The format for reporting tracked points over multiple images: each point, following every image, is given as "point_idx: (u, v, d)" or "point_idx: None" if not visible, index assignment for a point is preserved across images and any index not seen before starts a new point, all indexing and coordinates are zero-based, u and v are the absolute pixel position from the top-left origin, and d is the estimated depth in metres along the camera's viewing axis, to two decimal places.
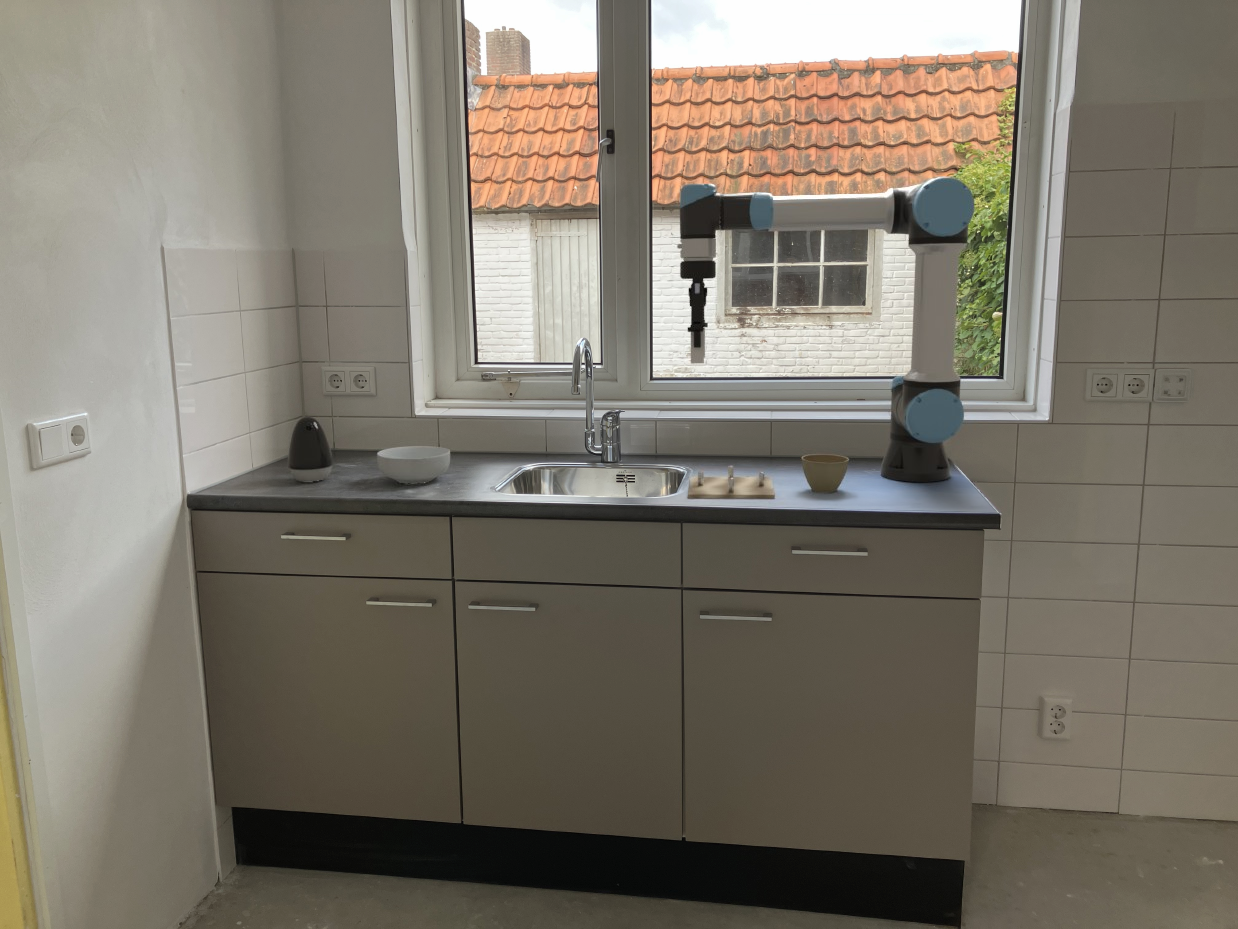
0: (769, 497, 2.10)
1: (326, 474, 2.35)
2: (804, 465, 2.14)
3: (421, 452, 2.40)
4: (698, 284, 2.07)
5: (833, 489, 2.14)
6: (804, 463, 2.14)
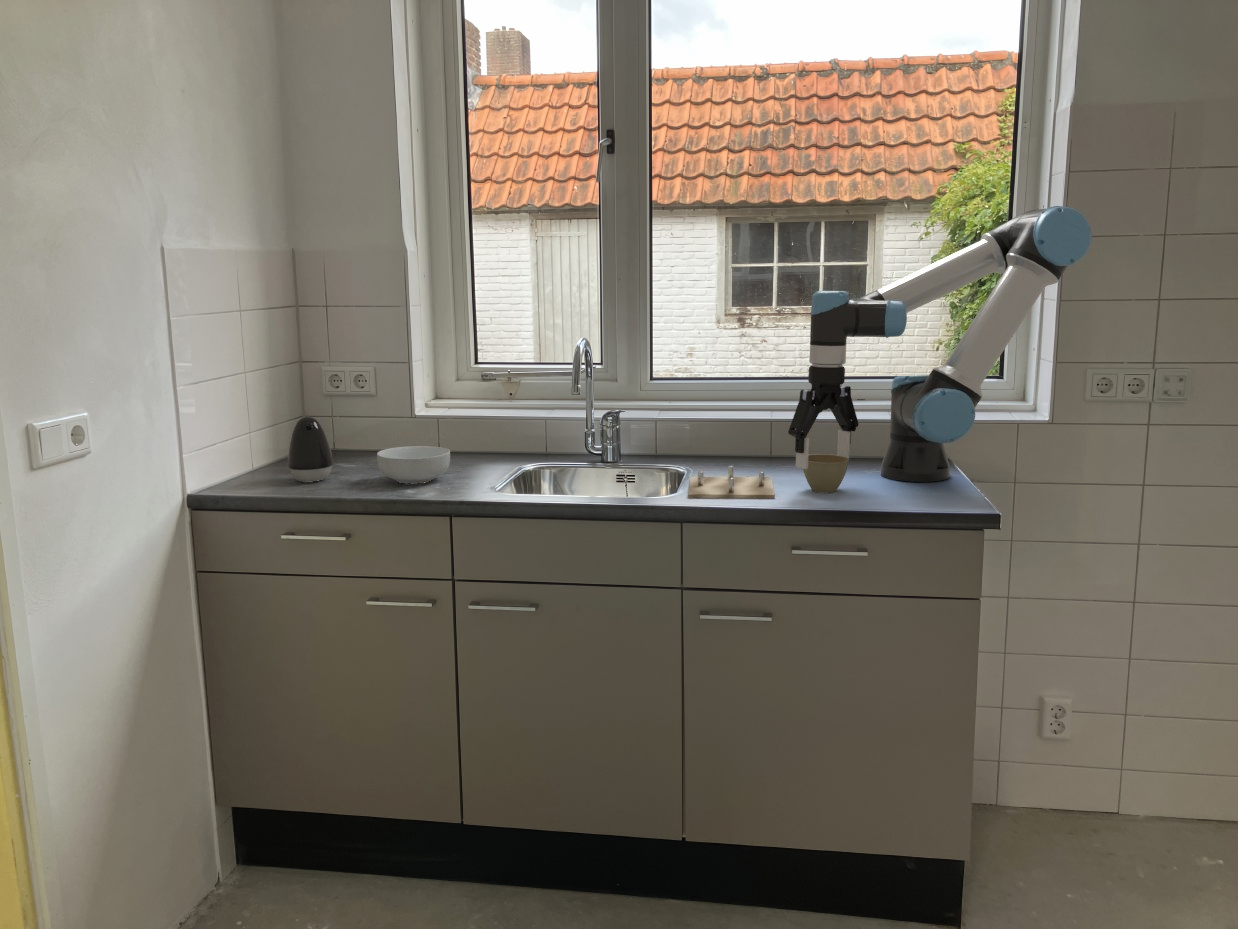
0: (769, 497, 2.10)
1: (326, 474, 2.35)
2: None
3: (421, 452, 2.40)
4: (806, 391, 2.08)
5: (833, 489, 2.14)
6: None
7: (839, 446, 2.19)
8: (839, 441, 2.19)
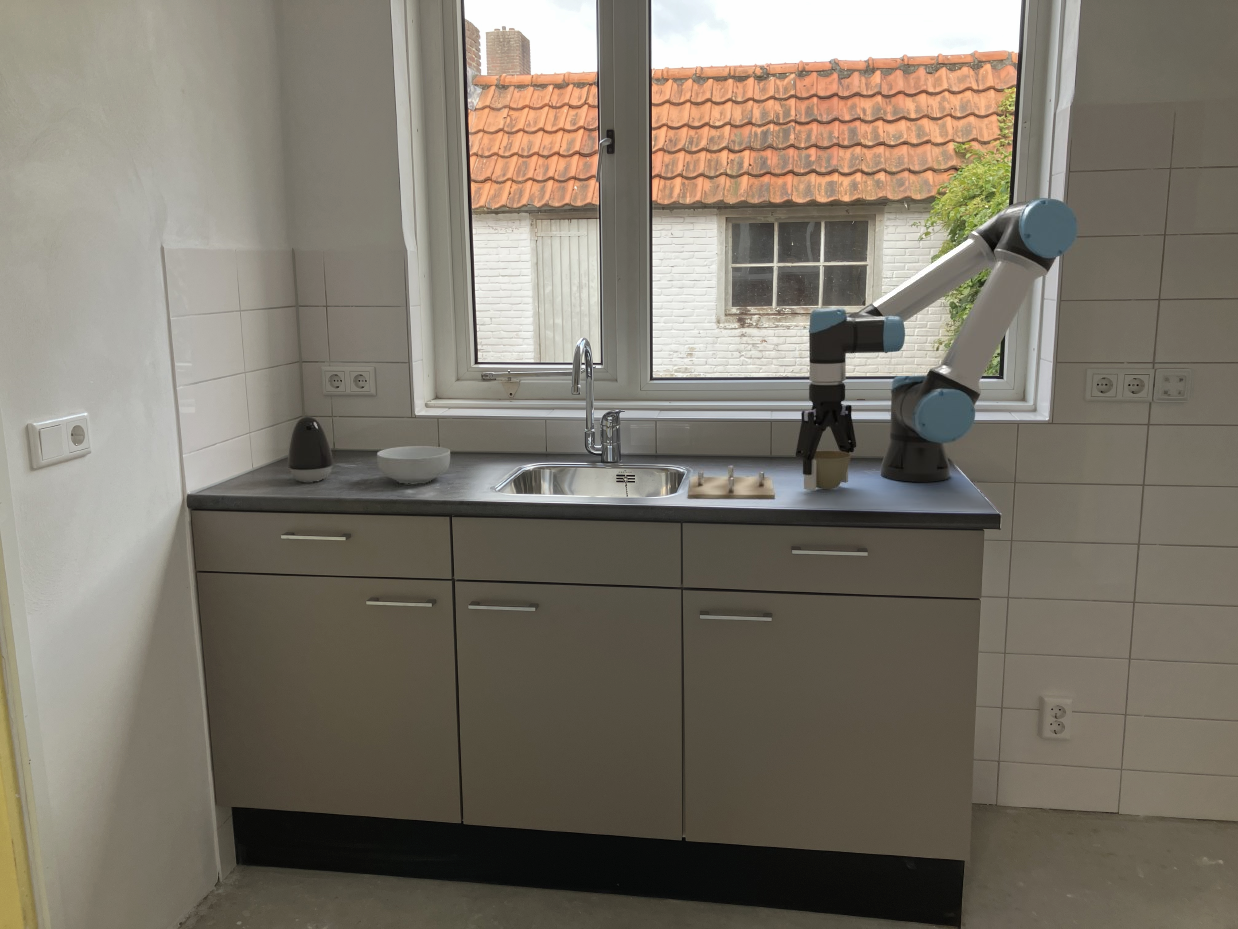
0: (769, 497, 2.10)
1: (326, 474, 2.35)
2: None
3: (421, 452, 2.40)
4: (807, 412, 2.09)
5: (835, 485, 2.14)
6: None
7: None
8: None
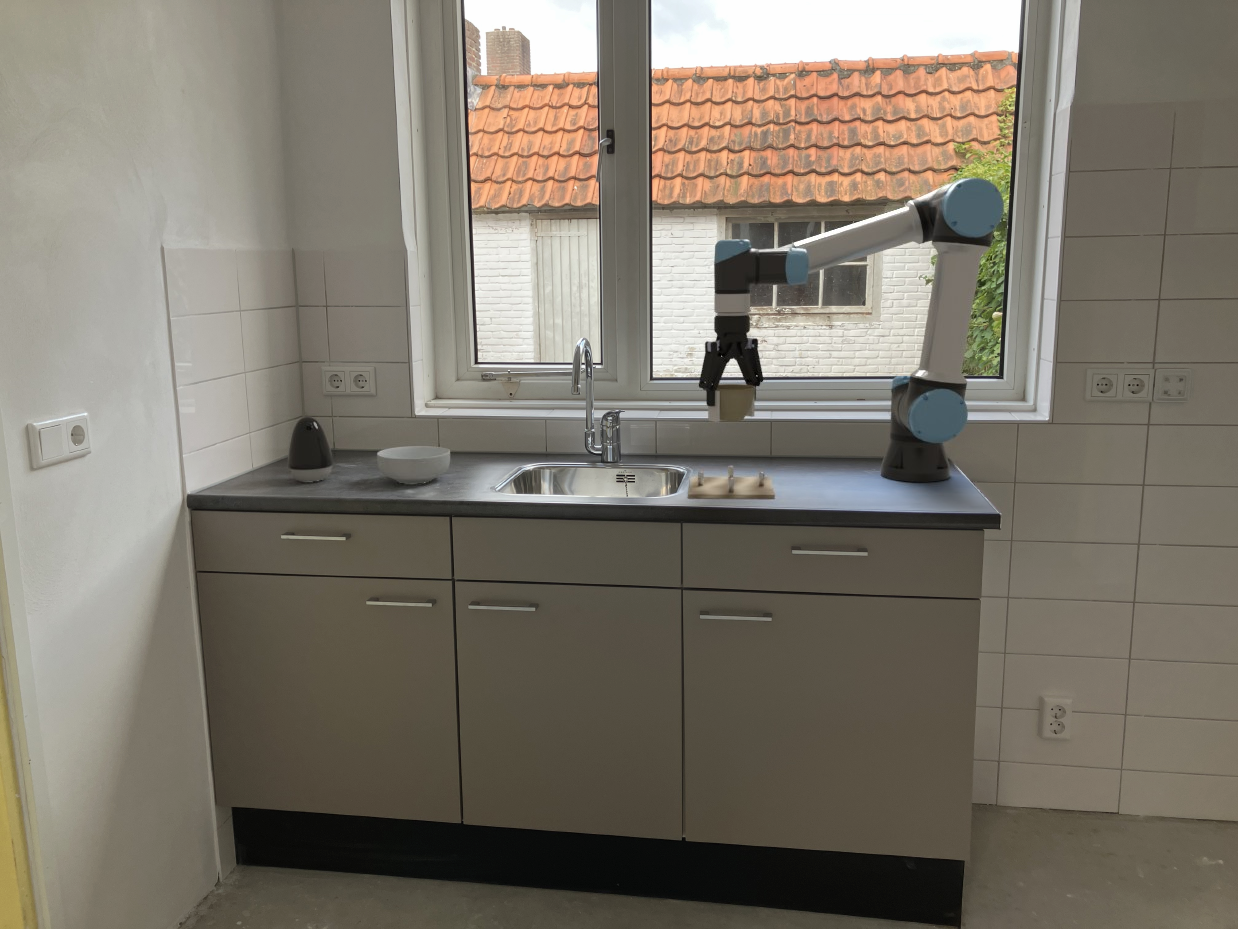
0: (769, 497, 2.10)
1: (326, 474, 2.35)
2: None
3: (421, 452, 2.40)
4: (710, 343, 2.09)
5: (739, 417, 2.14)
6: None
7: None
8: None
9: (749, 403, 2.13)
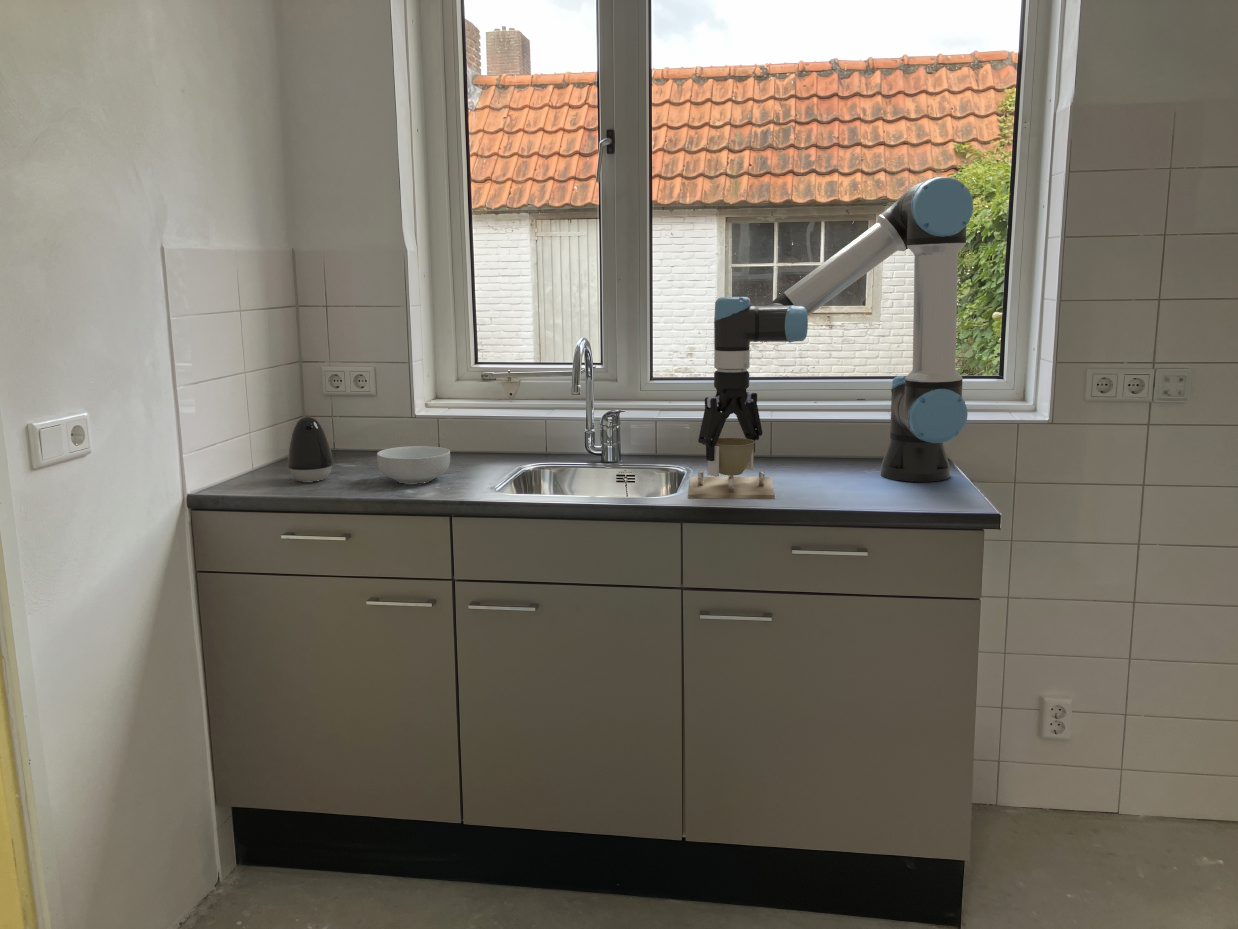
0: (769, 497, 2.10)
1: (326, 474, 2.35)
2: None
3: (421, 452, 2.40)
4: (709, 399, 2.11)
5: (738, 471, 2.16)
6: None
7: None
8: None
9: (748, 458, 2.16)
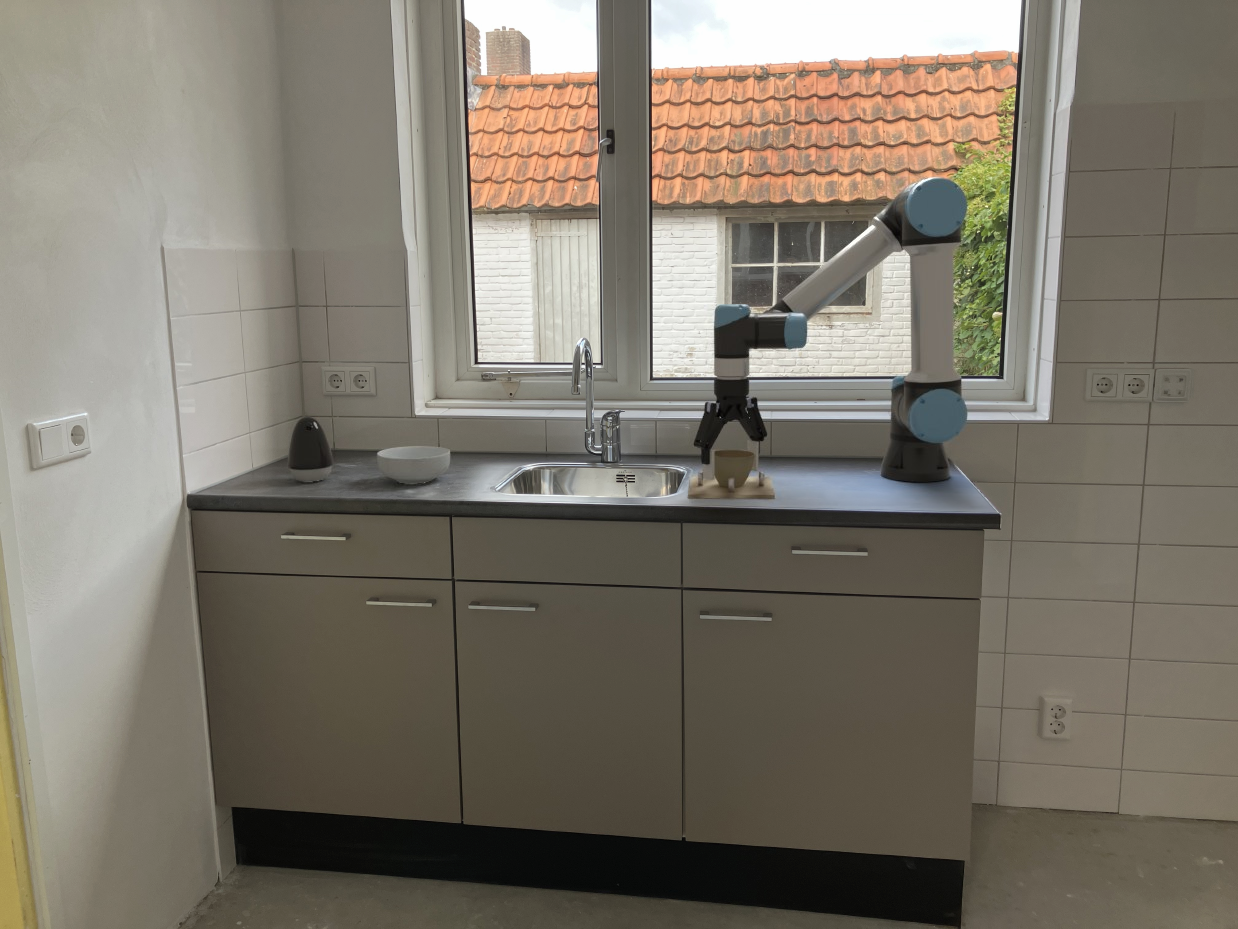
0: (769, 497, 2.10)
1: (326, 474, 2.35)
2: None
3: (421, 452, 2.40)
4: (710, 403, 2.12)
5: (739, 484, 2.17)
6: None
7: None
8: None
9: (749, 470, 2.16)
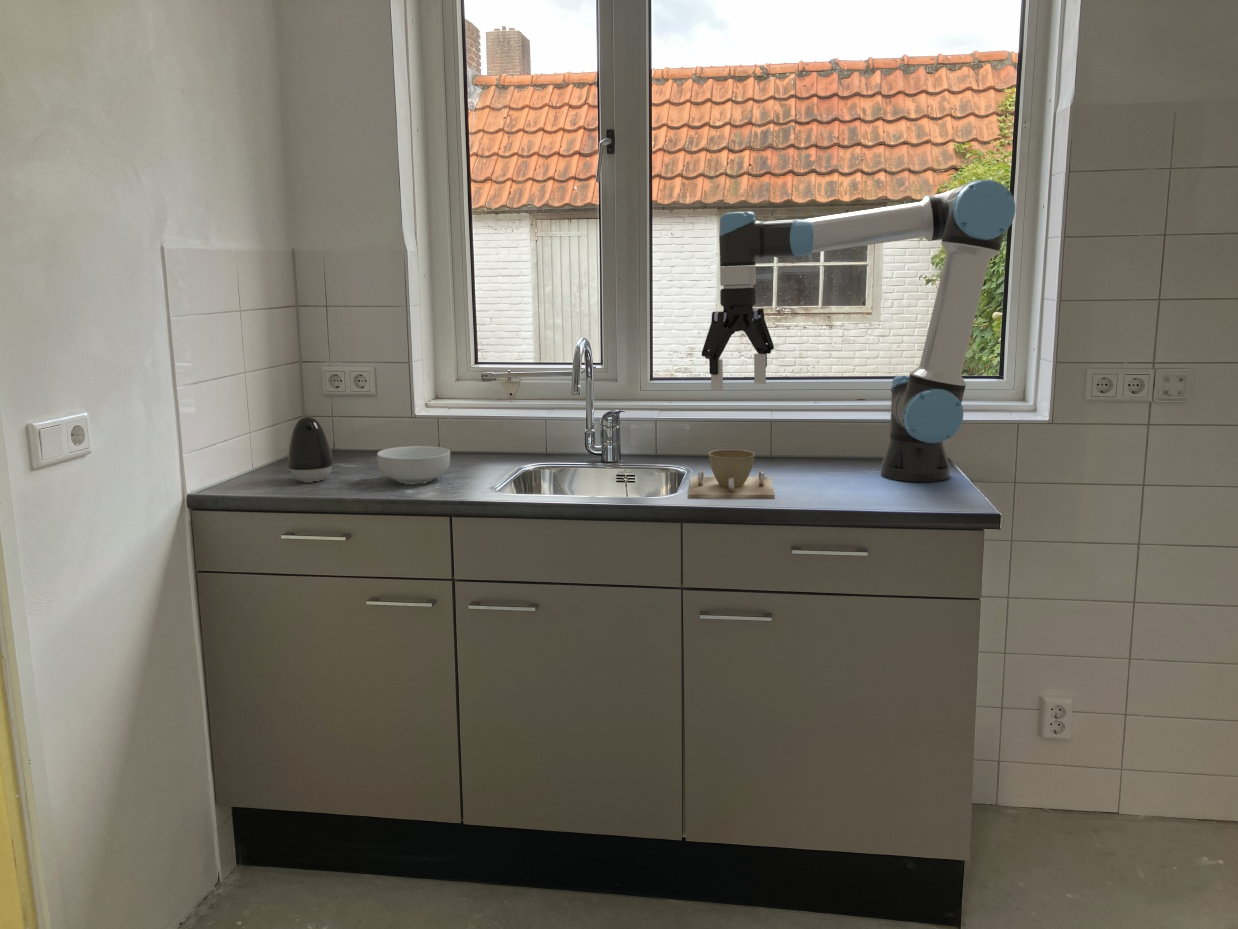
0: (769, 497, 2.10)
1: (326, 474, 2.35)
2: (710, 460, 2.17)
3: (421, 452, 2.40)
4: (717, 312, 2.10)
5: (739, 484, 2.17)
6: (710, 458, 2.17)
7: (756, 369, 2.21)
8: (755, 364, 2.21)
9: (749, 470, 2.16)
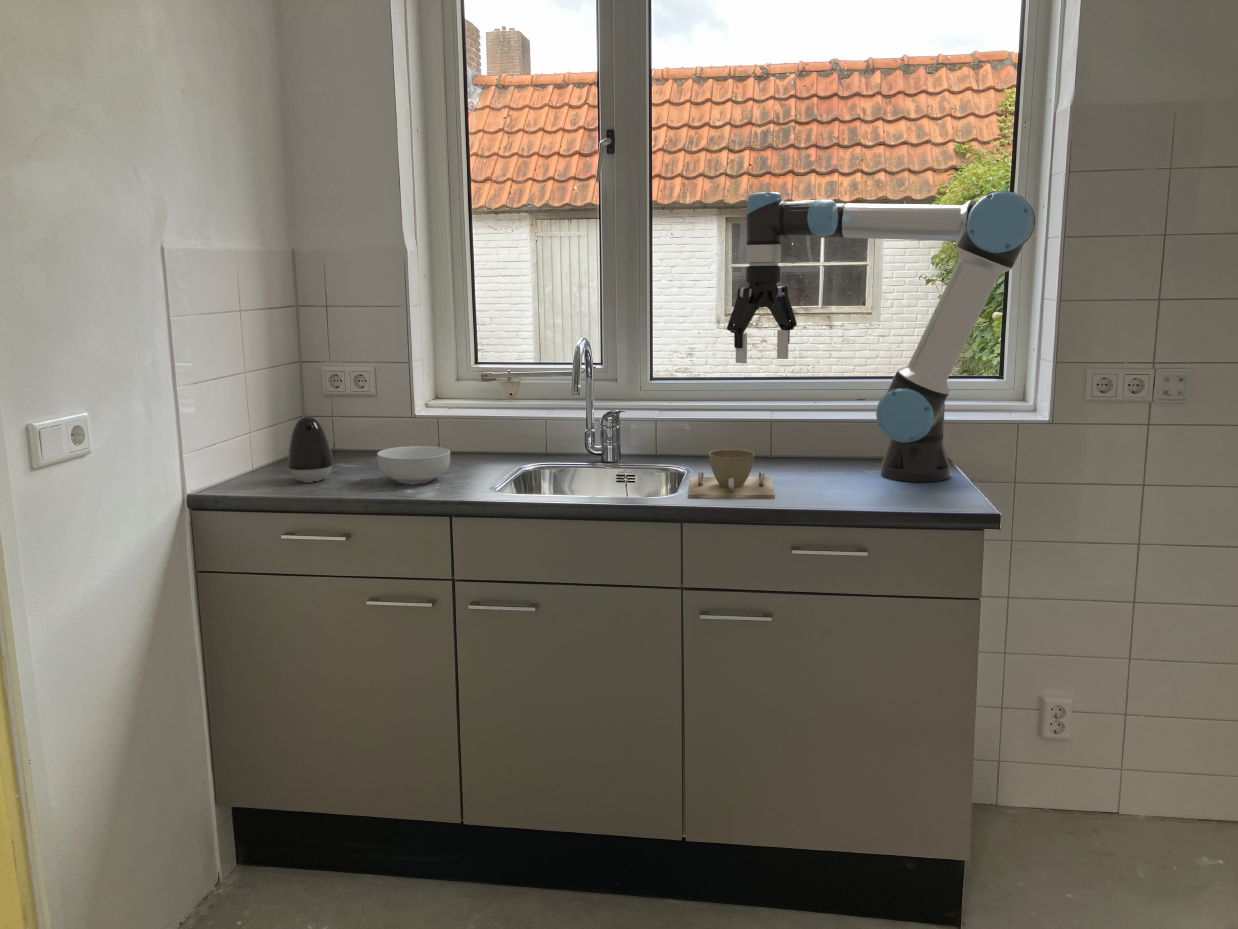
0: (769, 497, 2.10)
1: (326, 474, 2.35)
2: (710, 460, 2.17)
3: (421, 452, 2.40)
4: (743, 288, 2.19)
5: (739, 484, 2.17)
6: (710, 458, 2.17)
7: (779, 345, 2.30)
8: (778, 340, 2.30)
9: (748, 470, 2.16)
